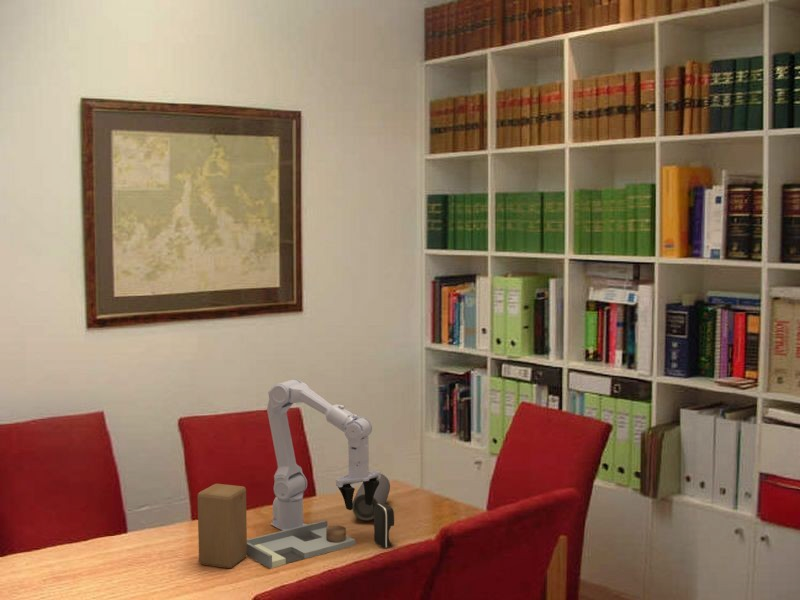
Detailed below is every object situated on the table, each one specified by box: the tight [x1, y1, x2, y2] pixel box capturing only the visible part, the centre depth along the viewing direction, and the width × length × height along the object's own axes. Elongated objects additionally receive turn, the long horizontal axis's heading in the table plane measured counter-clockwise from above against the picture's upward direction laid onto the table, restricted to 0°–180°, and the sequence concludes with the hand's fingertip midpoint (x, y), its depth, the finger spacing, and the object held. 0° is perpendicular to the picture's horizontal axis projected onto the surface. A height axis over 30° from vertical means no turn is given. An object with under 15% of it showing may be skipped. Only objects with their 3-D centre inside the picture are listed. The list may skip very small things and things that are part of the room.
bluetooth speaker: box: [352, 473, 391, 521], centre depth 308 cm, size 23×9×10 cm, turn 172°
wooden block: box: [197, 483, 248, 569], centre depth 267 cm, size 10×10×20 cm
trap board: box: [246, 520, 356, 569], centre depth 277 cm, size 15×28×3 cm, turn 128°
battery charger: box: [373, 503, 395, 549], centre depth 280 cm, size 7×4×11 cm, turn 25°
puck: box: [326, 525, 347, 543], centre depth 280 cm, size 6×6×3 cm
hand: (358, 506), depth 284 cm, fingers open, 6 cm apart
